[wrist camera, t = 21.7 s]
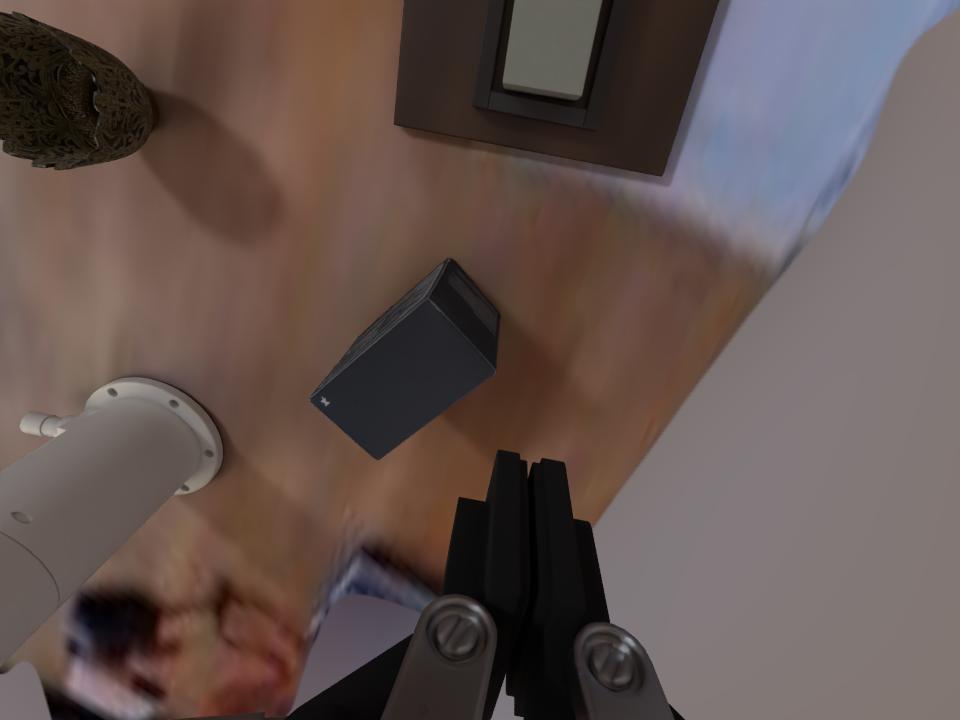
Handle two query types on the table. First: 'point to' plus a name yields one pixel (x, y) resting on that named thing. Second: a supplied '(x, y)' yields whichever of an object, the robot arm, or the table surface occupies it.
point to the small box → (413, 362)
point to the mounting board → (544, 121)
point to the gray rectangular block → (550, 47)
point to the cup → (67, 98)
